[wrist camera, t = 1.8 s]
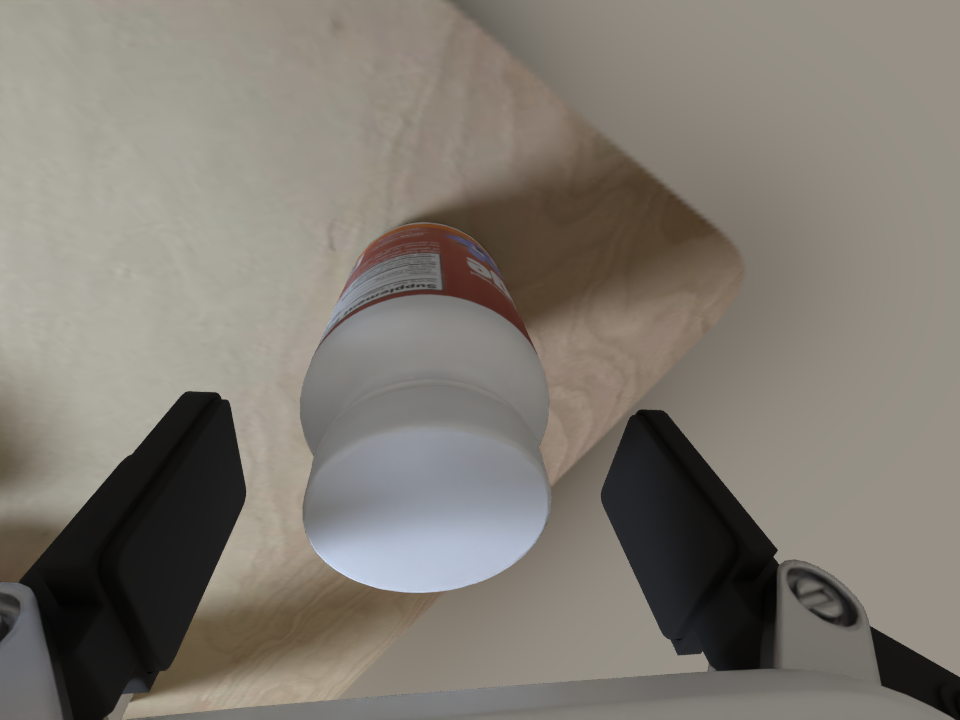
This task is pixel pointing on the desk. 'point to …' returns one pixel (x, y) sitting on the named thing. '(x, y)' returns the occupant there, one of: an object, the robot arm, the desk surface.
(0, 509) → the desk surface
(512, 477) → the pill bottle
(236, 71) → the desk surface
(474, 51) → the desk surface
